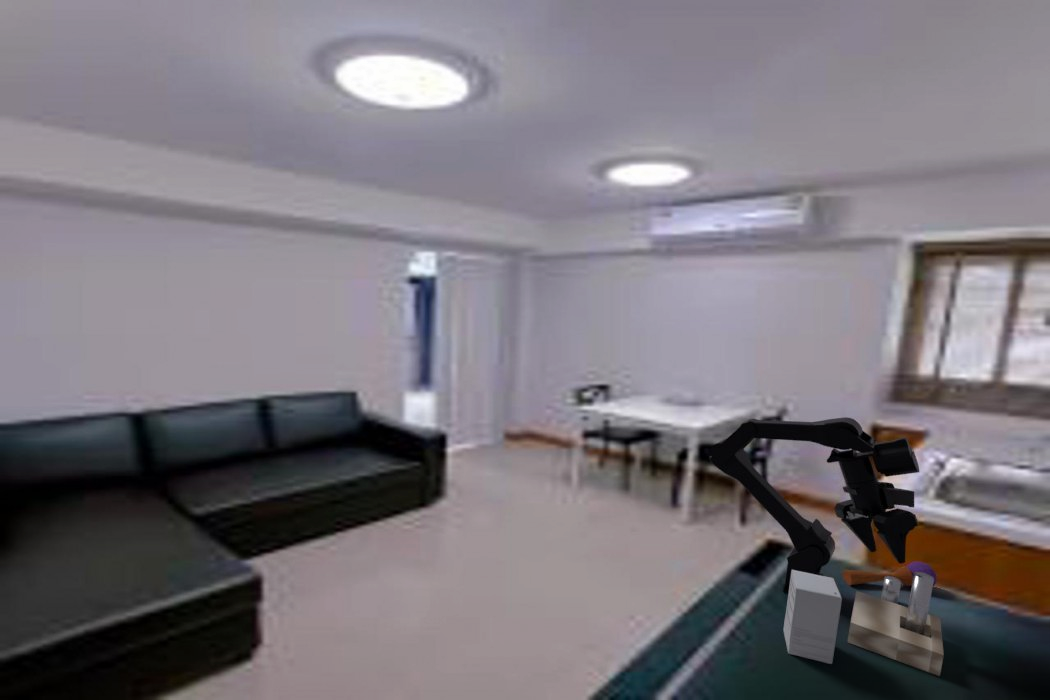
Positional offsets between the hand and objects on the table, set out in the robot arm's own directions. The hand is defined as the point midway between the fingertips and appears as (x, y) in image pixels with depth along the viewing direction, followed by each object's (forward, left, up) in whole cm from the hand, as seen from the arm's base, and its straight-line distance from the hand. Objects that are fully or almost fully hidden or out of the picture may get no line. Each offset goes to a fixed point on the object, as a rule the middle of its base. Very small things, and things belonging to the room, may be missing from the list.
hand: (887, 557), depth 112 cm
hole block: (+3, -6, -13) cm, 15 cm away
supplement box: (-10, -20, -13) cm, 26 cm away
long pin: (+6, -6, -13) cm, 16 cm away
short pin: (+2, +10, -13) cm, 16 cm away
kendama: (+1, +18, -14) cm, 22 cm away
